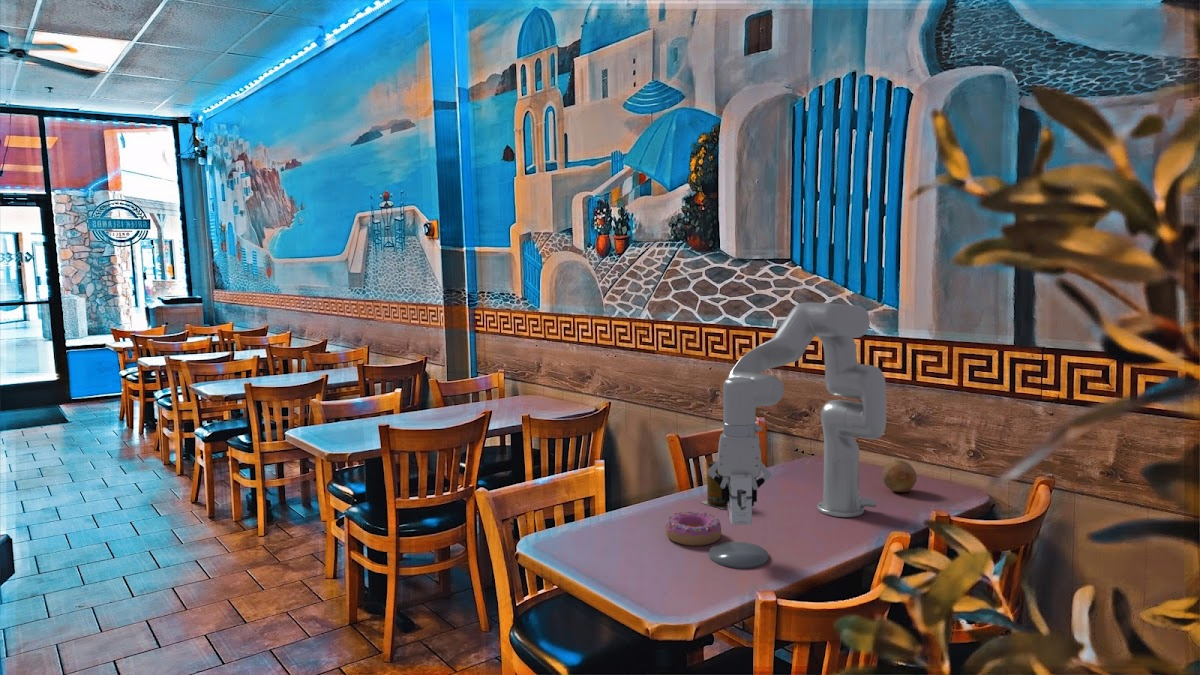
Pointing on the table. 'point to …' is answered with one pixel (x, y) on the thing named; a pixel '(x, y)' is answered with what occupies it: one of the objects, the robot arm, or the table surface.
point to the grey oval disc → (738, 555)
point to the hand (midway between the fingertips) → (739, 503)
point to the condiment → (714, 491)
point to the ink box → (740, 499)
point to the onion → (899, 476)
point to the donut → (693, 528)
